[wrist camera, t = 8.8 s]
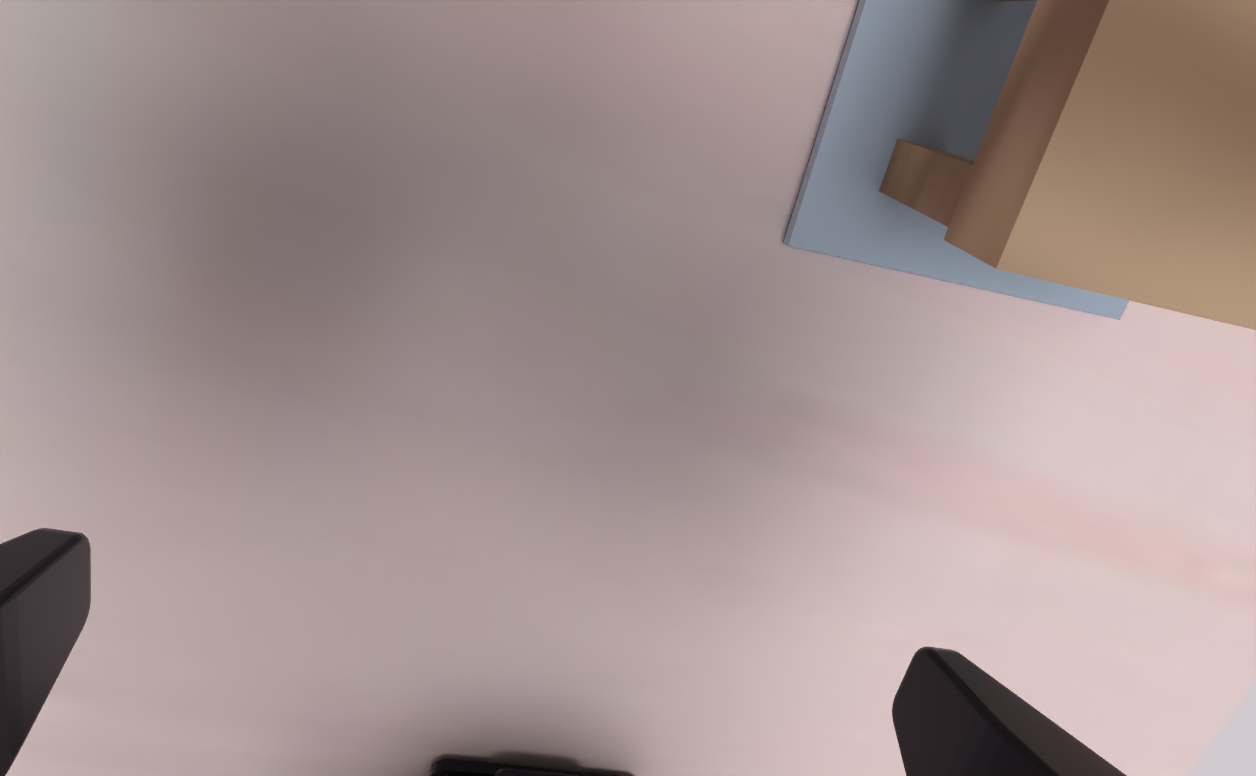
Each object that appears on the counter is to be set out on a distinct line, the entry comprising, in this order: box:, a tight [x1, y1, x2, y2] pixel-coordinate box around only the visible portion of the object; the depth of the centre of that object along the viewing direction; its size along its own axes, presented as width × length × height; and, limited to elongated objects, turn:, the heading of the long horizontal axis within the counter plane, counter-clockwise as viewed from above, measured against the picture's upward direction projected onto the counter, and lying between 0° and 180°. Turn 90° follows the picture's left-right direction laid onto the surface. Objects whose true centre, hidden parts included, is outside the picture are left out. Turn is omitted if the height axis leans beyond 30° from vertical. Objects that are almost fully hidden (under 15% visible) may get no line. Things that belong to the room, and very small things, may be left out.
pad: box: [784, 0, 1129, 320], centre depth 19 cm, size 9×9×1 cm
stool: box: [879, 0, 1256, 330], centre depth 16 cm, size 6×6×6 cm
